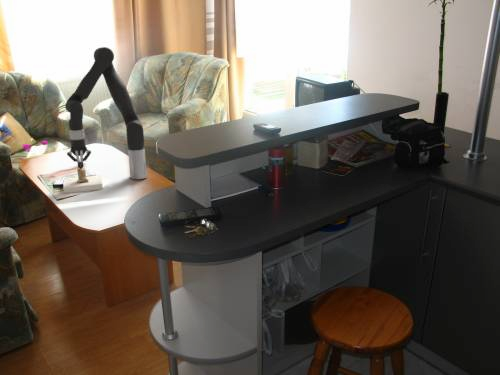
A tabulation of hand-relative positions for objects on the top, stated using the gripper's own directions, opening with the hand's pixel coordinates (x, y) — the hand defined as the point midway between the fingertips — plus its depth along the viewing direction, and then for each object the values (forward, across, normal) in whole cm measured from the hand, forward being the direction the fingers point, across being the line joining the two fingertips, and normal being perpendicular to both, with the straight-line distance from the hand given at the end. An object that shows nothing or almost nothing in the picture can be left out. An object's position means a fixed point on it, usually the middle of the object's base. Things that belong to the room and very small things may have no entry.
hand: (80, 168), depth 272 cm
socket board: (+10, 0, 0) cm, 11 cm away
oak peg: (+10, 0, 0) cm, 11 cm away
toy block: (+11, +28, -81) cm, 86 cm away
